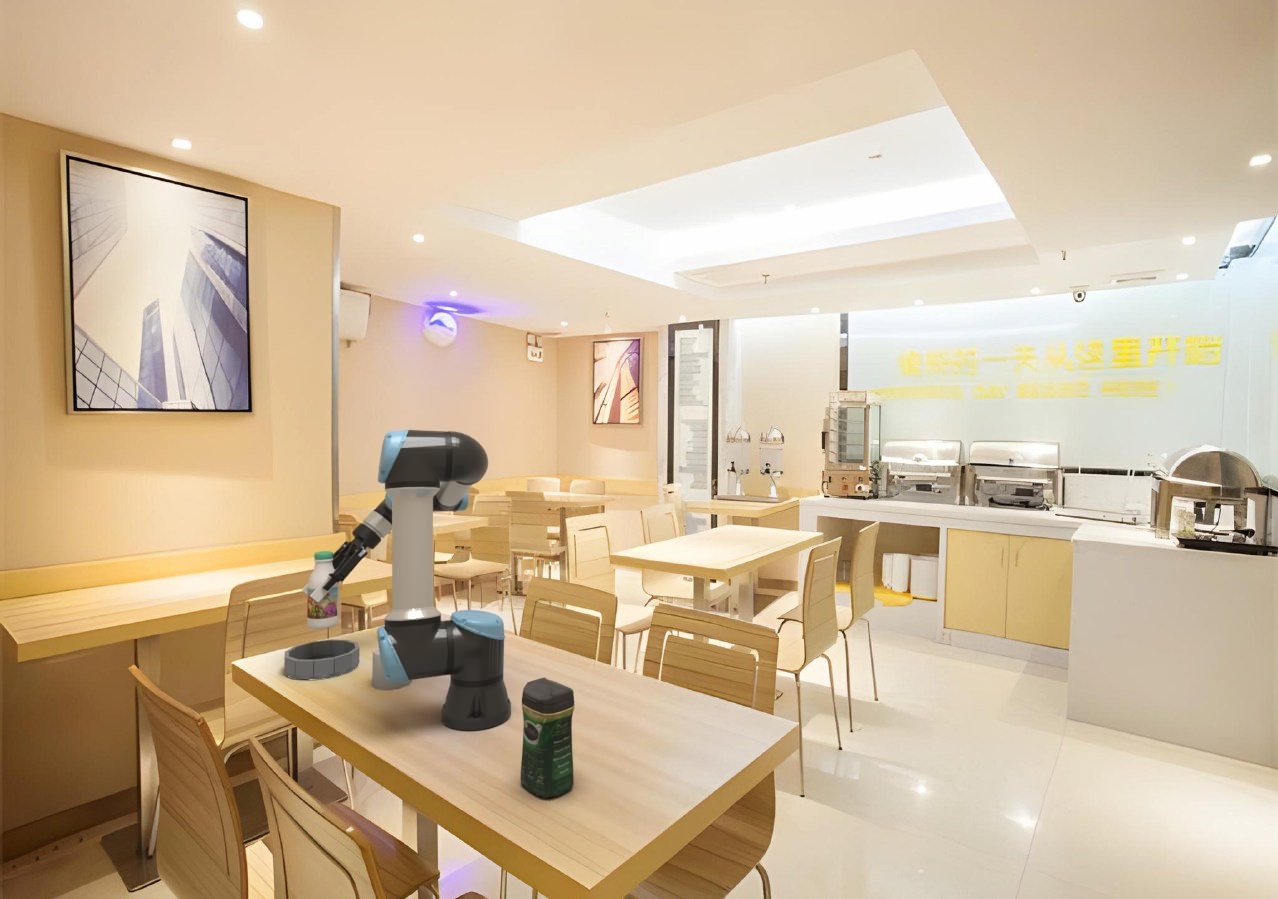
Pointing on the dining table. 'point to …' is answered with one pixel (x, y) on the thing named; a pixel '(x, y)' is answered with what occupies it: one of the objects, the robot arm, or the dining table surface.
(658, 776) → the dining table surface
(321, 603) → the milk bottle
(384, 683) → the toilet tissue
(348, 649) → the bowl
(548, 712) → the coffee jar
